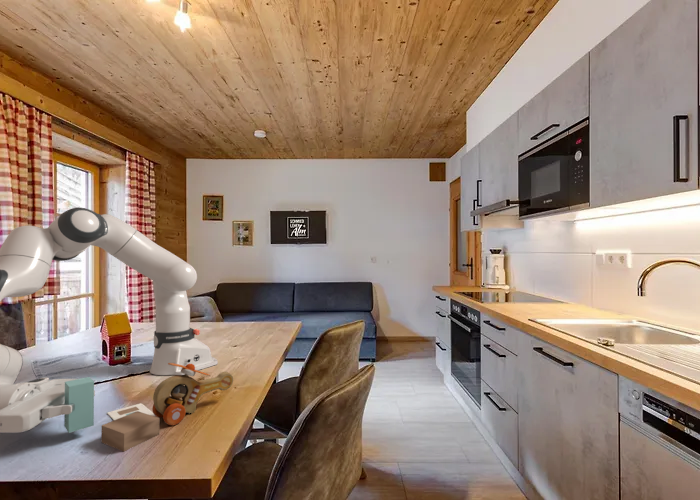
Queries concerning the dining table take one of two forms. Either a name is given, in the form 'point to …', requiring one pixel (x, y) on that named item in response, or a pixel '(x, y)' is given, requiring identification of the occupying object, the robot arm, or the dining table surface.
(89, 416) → the teal tall block
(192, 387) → the toy helicopter
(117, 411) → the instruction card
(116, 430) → the walnut base block
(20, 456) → the dining table surface
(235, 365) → the dining table surface
